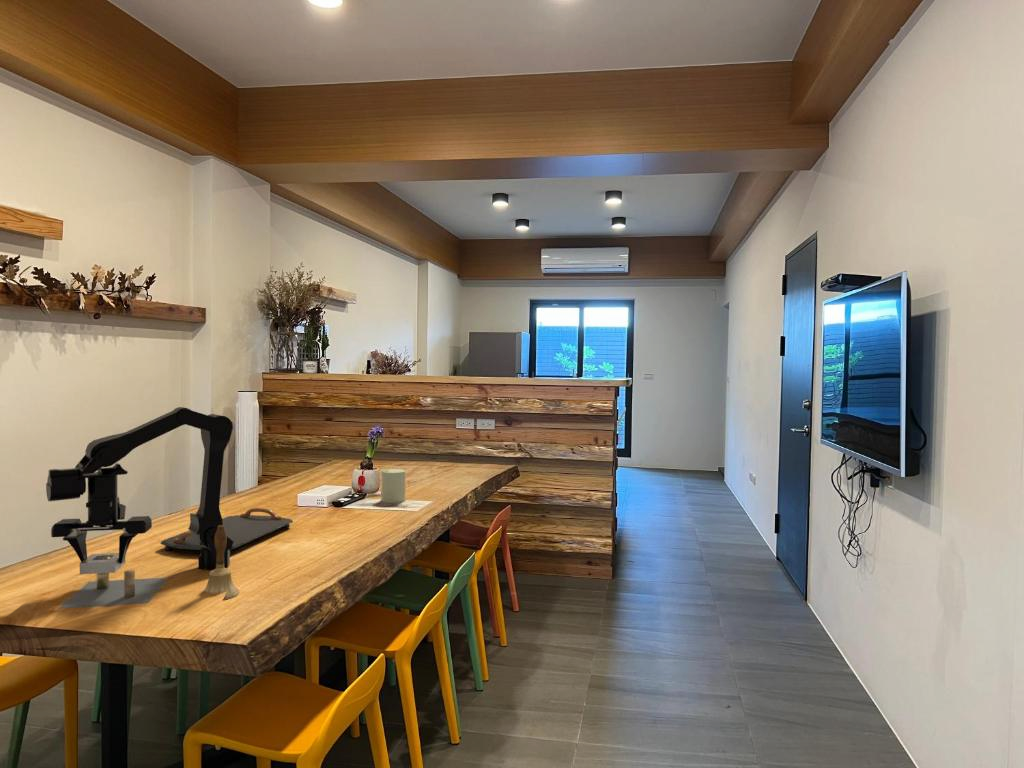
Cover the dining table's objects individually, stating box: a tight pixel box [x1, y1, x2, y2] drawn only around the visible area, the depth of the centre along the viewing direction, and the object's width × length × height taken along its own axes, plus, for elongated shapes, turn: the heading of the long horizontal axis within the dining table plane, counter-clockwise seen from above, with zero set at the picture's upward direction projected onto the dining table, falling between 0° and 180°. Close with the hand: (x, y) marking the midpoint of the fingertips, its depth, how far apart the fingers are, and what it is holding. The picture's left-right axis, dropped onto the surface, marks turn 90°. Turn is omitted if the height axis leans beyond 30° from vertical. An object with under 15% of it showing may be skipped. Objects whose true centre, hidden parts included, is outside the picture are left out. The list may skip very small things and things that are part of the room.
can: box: [380, 468, 407, 504], centre depth 256 cm, size 9×9×12 cm
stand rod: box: [123, 569, 136, 598], centre depth 146 cm, size 2×2×6 cm
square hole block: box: [79, 552, 126, 575], centre depth 151 cm, size 7×7×2 cm
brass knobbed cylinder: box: [96, 573, 110, 590], centre depth 151 cm, size 2×2×6 cm
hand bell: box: [204, 525, 240, 601], centre depth 152 cm, size 8×8×16 cm
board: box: [57, 576, 169, 610], centre depth 149 cm, size 17×17×2 cm
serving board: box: [160, 507, 294, 554], centre depth 199 cm, size 39×23×6 cm, turn 168°
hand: (103, 564), depth 151 cm, fingers closed on square hole block, 7 cm apart
